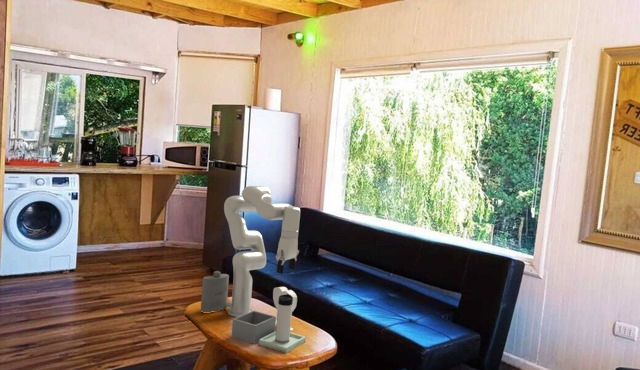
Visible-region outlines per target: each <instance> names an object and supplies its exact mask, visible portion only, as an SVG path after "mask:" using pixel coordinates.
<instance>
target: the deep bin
mask: <svg viewBox="0 0 640 370" xmlns="http://www.w3.org/2000/svg"><path fill="white" fill-rule="evenodd" d="M276 321H277V316H275V315H271V314H268V313H264V312H261V311H257V310H253V311H251V312H249V313H246V314H244V315H241V316H239V317H235V318H232V325H231V337H232V338H234V339H238V340H241V341H244V342H247V343H251V344H254V345H255V344H257V343H259V339H261V338H263V337H265V336H267V335H269V334H271V333H273V332H275V331H276V325H275V323H276Z"/></svg>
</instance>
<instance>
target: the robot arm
mask: <svg viewBox="0 0 640 370" xmlns="http://www.w3.org/2000/svg"><path fill="white" fill-rule="evenodd" d="M223 205H224V206H223V211H224V215H225V219H226V221H227V223H228V228H229V232H230V237H231V239H230V240H231V242H232V246H233V248H234V249H235V250H245V251H239V252H237V253H235V254H234V256H233V257H232V266H233V267H232V268H233V270H232V271H233V281H232V293H231V295H232V297H231V301H228V300H227V304H226V306H227V307H228V310H227V313H228V315H229V316H232V317H235V318H237V317H239V316H241V315H244V314H246V313H249V312H251V311H254V309H251V306H252V304H251V303H252V291H253V276H252V275H251V273H250V271H254V270H261V269H263V268H265V266H266V265H267V254H266V248H265V244H264V239H263V235H262V234H261V233H260V231H258V230H255V229H249V230H248V228H247V223H246V220H245V219H244V217H243V216H242V215H241V214H240V213H254V212H256V213H257V215H258V216H260V217H262V218H263V219H265V220H268V221H279V220H280V221H281V220H282V224H281V234H280V238H279V241H278V245H277V247H278V248H277V252H276V255H275V259H276V260H275V261H276V264H277V265H276V273H277V274H281V275H282V274H284V270H285V264H284V263H285V262H286V261H288V260H289V262H288V269H290V270H292V271H295V270H296V266H297V265H296V263H297V260H298V257H299V253H300V250H299V249H298V247H299V246H298V245H299V244H298V243H299V242H298V241H299V239H298V238H299V230H300V219H301V209H300V207H297V206H293V205H292V204H290V203H285V202H284V203H280V202H279V203H272V193H271V189H269V188H268V187H267V186H264V185H249V186H245V187H244V188H243V189H242V191H241V195H231V196H229V197H227V198H226V200H225V201H224V204H223Z"/></svg>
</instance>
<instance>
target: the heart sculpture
mask: <svg viewBox="0 0 640 370" xmlns="http://www.w3.org/2000/svg"><path fill="white" fill-rule="evenodd" d="M272 290H273V291H272V300H273V305H274V307H275V309H276V310H277V312H278V302H279V296H281V295H286V294H290V295H291V296H292V297H293V302H292V312H294V310H295V309H296V307H297V303H298V296H297V294H296V293H295V291H293V290H292V289H288V288H287V287H286V286H279V287H274V288H273V289H272ZM276 324H277V320H276V323H275V326H276ZM293 330H294V328H293V327H291V328H290V332H291V331H293Z"/></svg>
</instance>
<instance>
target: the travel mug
mask: <svg viewBox="0 0 640 370" xmlns="http://www.w3.org/2000/svg"><path fill="white" fill-rule="evenodd" d="M292 302H293V297H292V296H291V295H290V294H286V295H281V296H279V302H278V311H277V312H276V313H277V314H276V321H277V324H276V325H275V331H276V337H275V340H276V342H279V343H287V342H289V340H290V332H291V331H290V328H292V315H293V311H292Z"/></svg>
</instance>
